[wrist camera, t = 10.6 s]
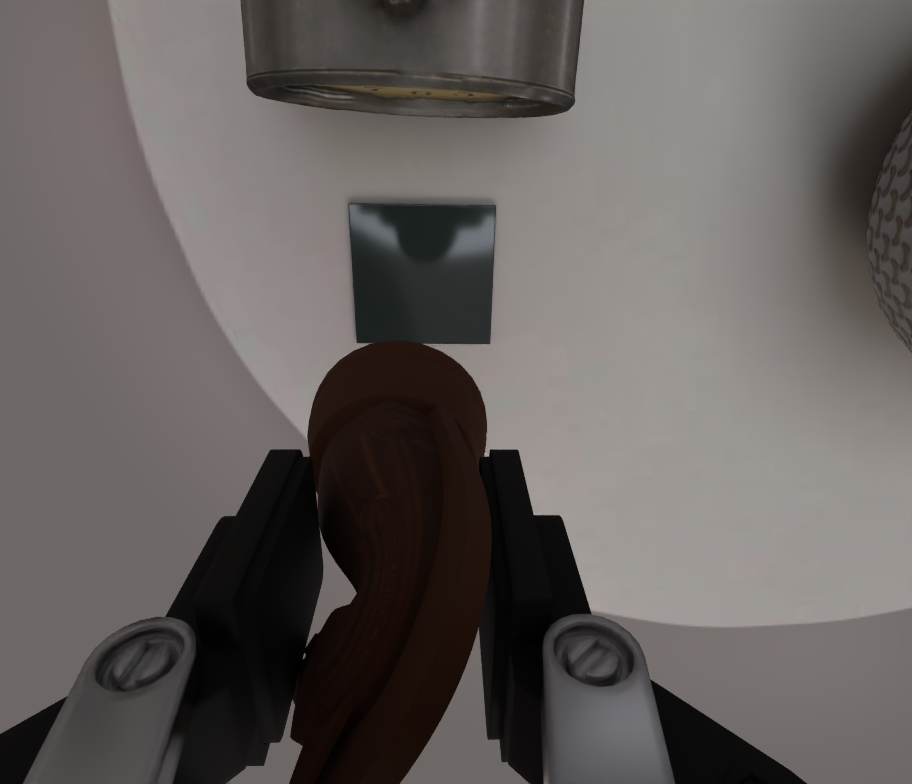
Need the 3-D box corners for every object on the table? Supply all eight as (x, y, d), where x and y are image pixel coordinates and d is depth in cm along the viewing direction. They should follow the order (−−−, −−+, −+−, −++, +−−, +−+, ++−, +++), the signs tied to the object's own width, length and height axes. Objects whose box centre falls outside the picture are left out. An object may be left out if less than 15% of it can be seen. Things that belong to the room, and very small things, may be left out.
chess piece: (282, 435, 16) (70, 854, 7) (386, 287, 14) (291, 578, 5) (421, 516, 17) (398, 962, 8) (532, 388, 15) (661, 767, 6)
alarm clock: (297, 109, 26) (113, 92, 11) (289, -37, 24) (46, -292, 9) (540, 122, 27) (663, 123, 12) (554, -20, 24) (727, -238, 10)
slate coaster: (349, 203, 28) (348, 203, 28) (495, 204, 28) (496, 205, 28) (357, 341, 31) (356, 343, 31) (489, 342, 31) (490, 344, 31)
